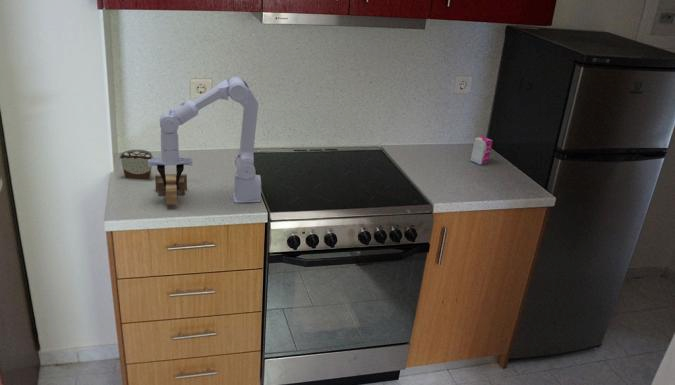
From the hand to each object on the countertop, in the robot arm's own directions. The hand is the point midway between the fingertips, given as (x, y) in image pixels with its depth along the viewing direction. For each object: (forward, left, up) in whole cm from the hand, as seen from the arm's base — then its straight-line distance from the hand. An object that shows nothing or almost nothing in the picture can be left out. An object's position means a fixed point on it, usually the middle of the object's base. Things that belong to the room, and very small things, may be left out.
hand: (171, 184), depth 208 cm
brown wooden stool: (0, -6, -6) cm, 9 cm away
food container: (+11, -22, -6) cm, 26 cm away
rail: (0, 0, -4) cm, 4 cm away
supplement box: (-135, -28, -6) cm, 138 cm away
